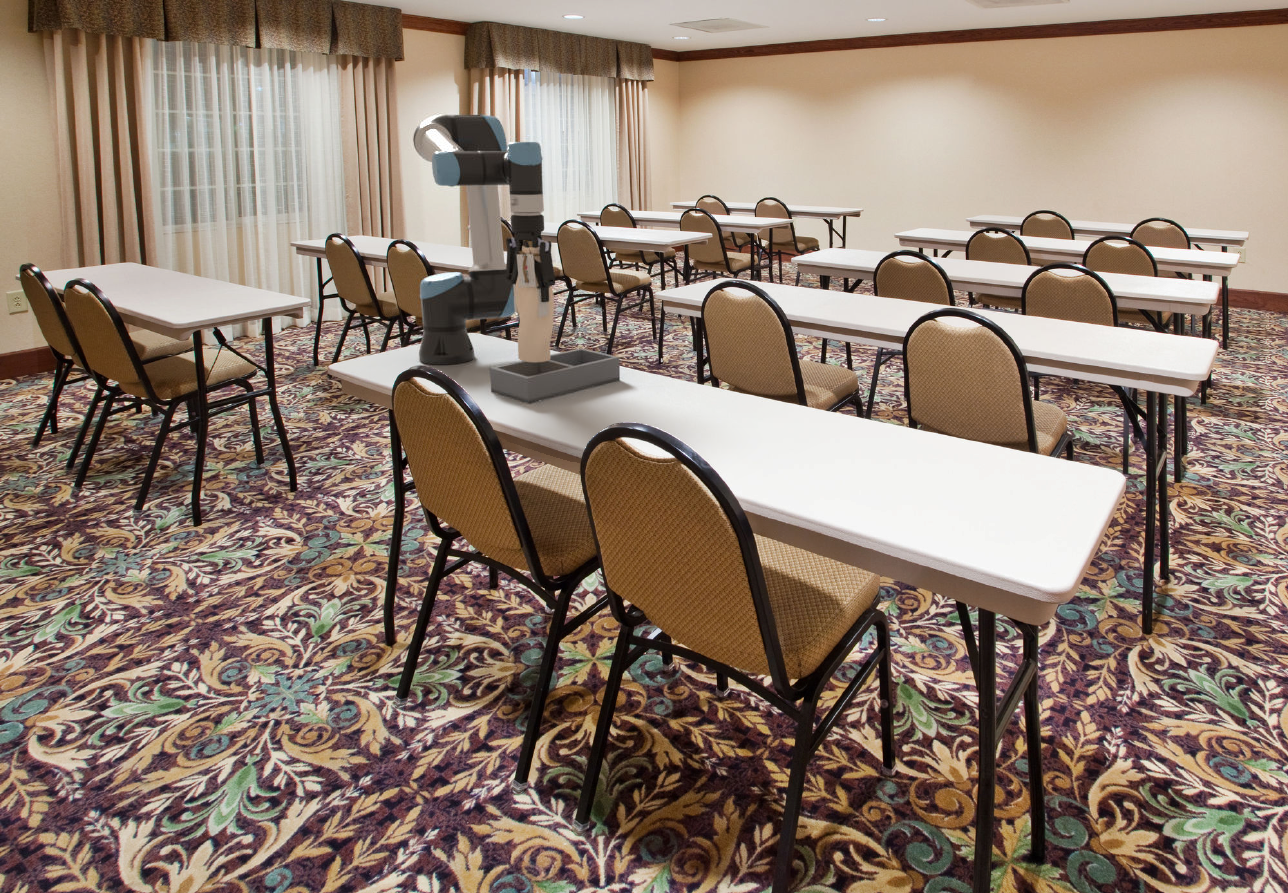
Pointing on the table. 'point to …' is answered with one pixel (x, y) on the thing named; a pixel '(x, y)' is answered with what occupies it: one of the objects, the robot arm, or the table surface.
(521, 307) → the water bottle
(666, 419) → the table surface
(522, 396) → the bottle caddy
